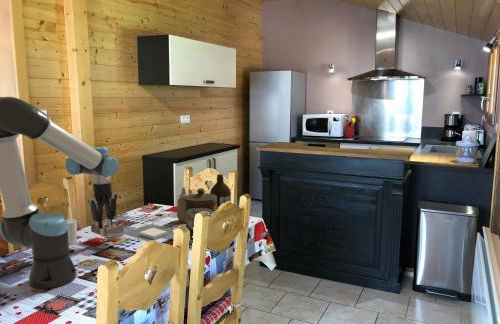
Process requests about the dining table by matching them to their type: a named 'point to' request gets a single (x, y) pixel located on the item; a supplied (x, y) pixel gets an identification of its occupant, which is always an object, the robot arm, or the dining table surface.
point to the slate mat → (136, 232)
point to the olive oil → (221, 191)
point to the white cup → (72, 231)
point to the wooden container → (199, 206)
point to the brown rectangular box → (108, 231)
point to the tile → (153, 233)
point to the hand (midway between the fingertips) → (105, 234)
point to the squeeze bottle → (182, 206)
